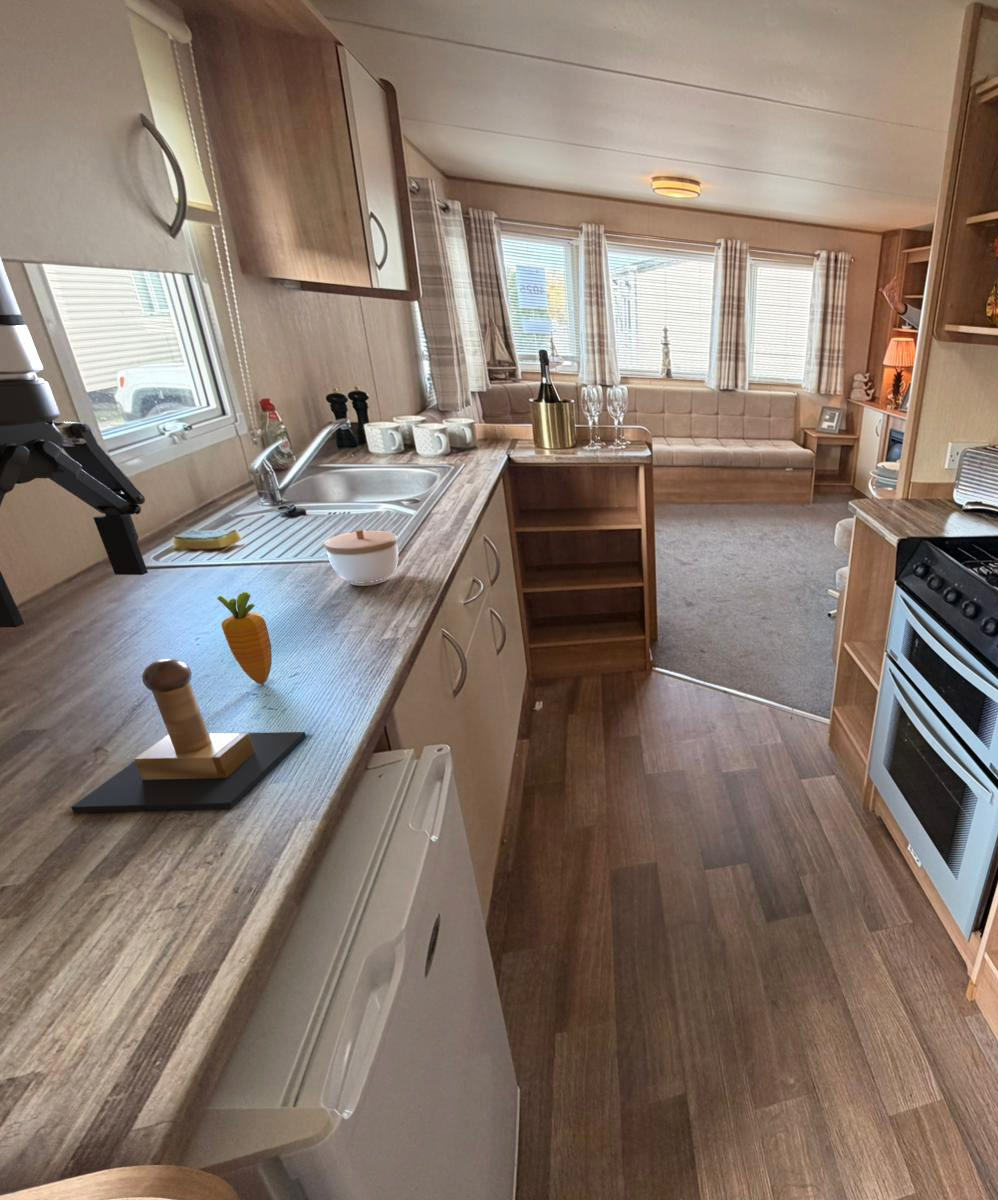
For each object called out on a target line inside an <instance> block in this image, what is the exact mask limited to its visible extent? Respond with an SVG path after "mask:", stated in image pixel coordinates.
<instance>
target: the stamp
mask: <svg viewBox="0 0 998 1200" xmlns="http://www.w3.org/2000/svg"><path fill="white" fill-rule="evenodd" d="M141 680H142V683H143V685H144V687H145V688H146V689H148V690H149V691H150V692H152V695H153V697H154V700H155V703H156V706H157V708H158V711H159V713H160V715H161V718H162V721H163V723H164V726H165V728H166V731H167V733H168V734H167V735H165V736H164V737H162V738H161V739H159V741H157V742H155V743H154V744H153V745H151V746H150V747H149V748H147V749H145V751H143V752H142V753H140V754H139V755H137V756H136V757H135V758H133V761H135V763H136V765H137V767H138V770H139V772H140V774H141V777H142V779H143V780H156V779H204V778H227V777H228V776H229V775H230V774H231V773H233V772H234V771H235V770H236V769H237V768H238V767H239V766H240V765H242V764H243V763H244V762H245V761H246V760H247V759H248V758H249V757H251V756H252V755H253V754H254V753H255V752H254V749H253V746H252V743H251V740H250V737H249V734H248V733H249V732H213V734H208V733H209V731H208V728H207V725H206V723H205V720H204V717H203V715H202V711H201V709H200V706H199V703H198V700H197V697H196V695H195V692H194V690H193V689H194V688H193V687H192V684H191V680H192V670H191V667H189V666H188V664H187V663H185V662H184V661H182V660H180V659H176V658H162V659H158V660H156V661H153V662H152V663H150V664H149V665H148V666H146V667H145V669H144V670H143V672H142V675H141Z"/></svg>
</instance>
